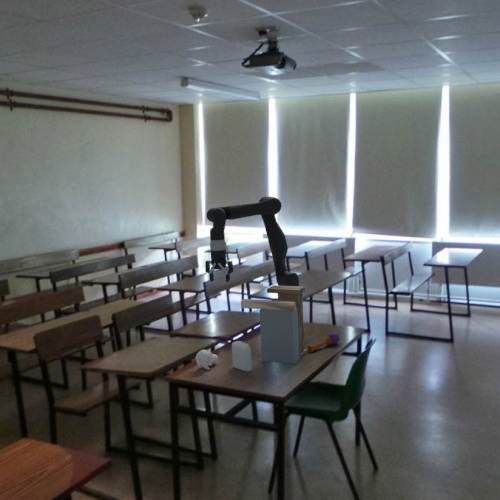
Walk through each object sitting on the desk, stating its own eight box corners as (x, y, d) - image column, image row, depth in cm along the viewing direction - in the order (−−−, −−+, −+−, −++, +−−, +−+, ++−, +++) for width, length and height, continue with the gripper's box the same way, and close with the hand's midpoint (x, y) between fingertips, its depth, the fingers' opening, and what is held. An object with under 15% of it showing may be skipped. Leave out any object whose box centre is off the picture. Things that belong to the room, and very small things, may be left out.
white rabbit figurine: (194, 350, 250) (211, 345, 260) (194, 369, 250) (211, 363, 260) (204, 352, 246) (221, 347, 256) (204, 371, 247) (221, 365, 256)
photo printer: (231, 367, 251) (229, 340, 250) (238, 364, 254) (237, 338, 252) (245, 372, 243) (244, 345, 242) (253, 370, 246) (252, 343, 245)
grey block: (267, 356, 265) (265, 306, 261) (299, 359, 258) (297, 308, 255) (261, 360, 258) (259, 309, 255) (294, 364, 251) (292, 311, 248)
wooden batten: (244, 306, 264) (244, 298, 264) (296, 309, 253) (295, 301, 253) (241, 307, 261) (240, 300, 261) (293, 310, 250) (293, 303, 250)
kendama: (304, 342, 270) (331, 331, 282) (306, 354, 270) (333, 342, 283) (313, 343, 265) (340, 330, 278) (315, 355, 265) (342, 342, 278)
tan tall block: (276, 349, 274) (273, 285, 270) (307, 352, 267) (304, 286, 263) (269, 354, 267) (266, 288, 263) (301, 357, 260) (299, 290, 256)
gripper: (234, 248, 274) (236, 280, 276) (209, 247, 280) (210, 279, 282) (227, 250, 267) (229, 283, 269) (201, 249, 273) (203, 282, 275)
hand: (219, 281), depth 275 cm, fingers open, 8 cm apart
